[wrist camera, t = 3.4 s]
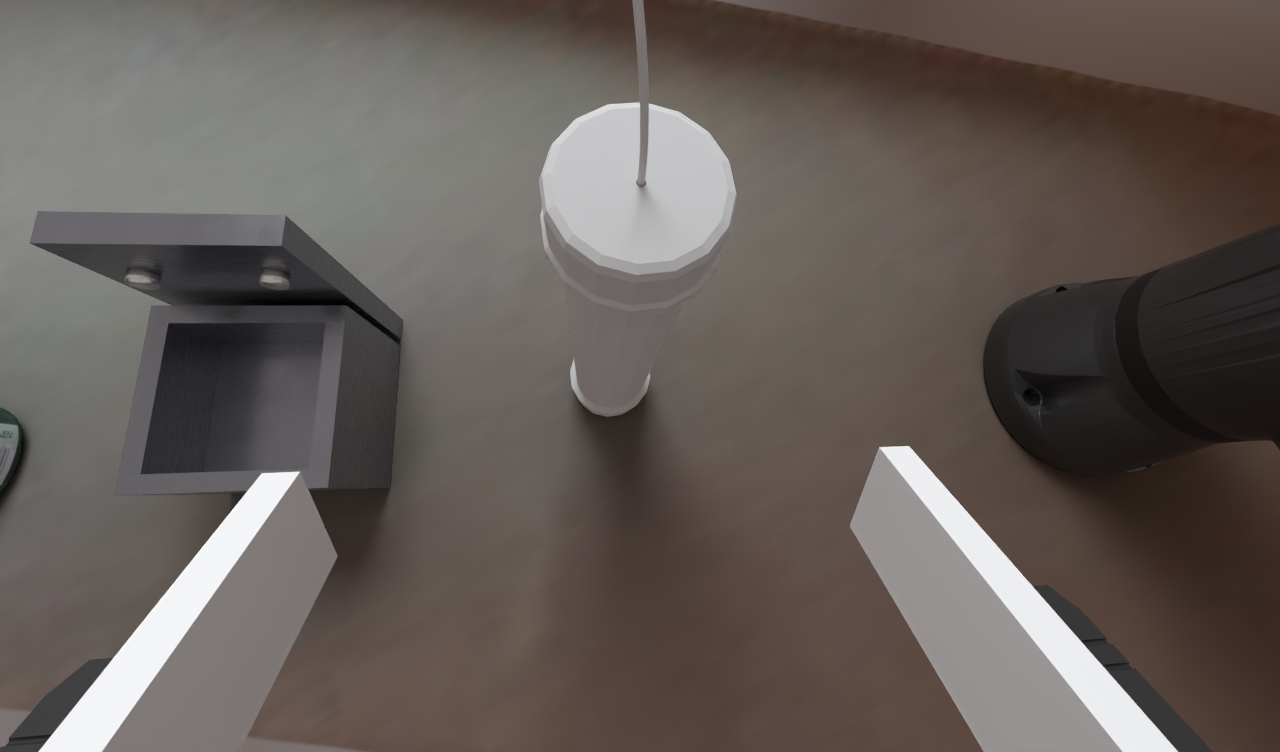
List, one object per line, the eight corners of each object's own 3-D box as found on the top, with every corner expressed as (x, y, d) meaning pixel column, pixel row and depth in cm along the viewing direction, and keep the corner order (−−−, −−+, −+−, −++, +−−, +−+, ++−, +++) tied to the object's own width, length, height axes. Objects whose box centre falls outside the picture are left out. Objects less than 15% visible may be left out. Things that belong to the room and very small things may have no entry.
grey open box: (390, 487, 33) (248, 487, 19) (230, 493, 32) (-38, 497, 18) (402, 319, 36) (285, 215, 22) (255, 320, 35) (37, 211, 21)
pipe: (585, 429, 35) (554, 144, 6) (558, 350, 36) (420, -213, 7) (657, 404, 36) (930, 52, 7) (628, 328, 37) (759, -254, 8)
